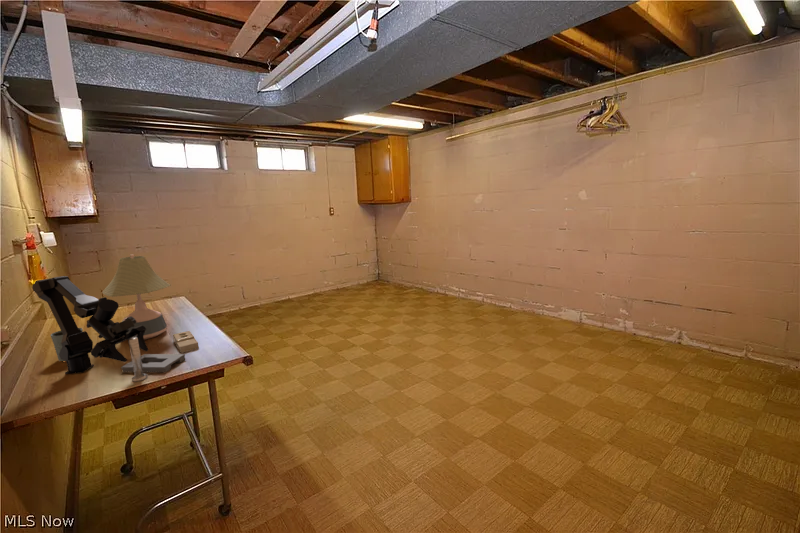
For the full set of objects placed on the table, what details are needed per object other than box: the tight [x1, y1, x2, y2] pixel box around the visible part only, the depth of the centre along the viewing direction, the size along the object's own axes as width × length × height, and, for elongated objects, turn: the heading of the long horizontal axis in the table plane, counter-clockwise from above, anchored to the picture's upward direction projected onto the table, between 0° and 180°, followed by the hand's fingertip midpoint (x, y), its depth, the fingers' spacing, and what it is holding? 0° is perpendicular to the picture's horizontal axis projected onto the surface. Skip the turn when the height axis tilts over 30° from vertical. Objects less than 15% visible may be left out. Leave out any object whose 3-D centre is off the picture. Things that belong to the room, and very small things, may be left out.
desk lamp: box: [102, 254, 171, 341], centre depth 175 cm, size 26×28×42 cm
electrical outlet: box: [172, 330, 200, 354], centre depth 165 cm, size 7×4×18 cm
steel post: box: [128, 337, 148, 383], centre depth 132 cm, size 5×5×16 cm
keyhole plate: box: [120, 353, 186, 373], centre depth 144 cm, size 18×12×2 cm, turn 86°
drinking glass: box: [50, 327, 84, 362], centre depth 154 cm, size 10×10×12 cm
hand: (137, 355), depth 132 cm, fingers open, 9 cm apart
